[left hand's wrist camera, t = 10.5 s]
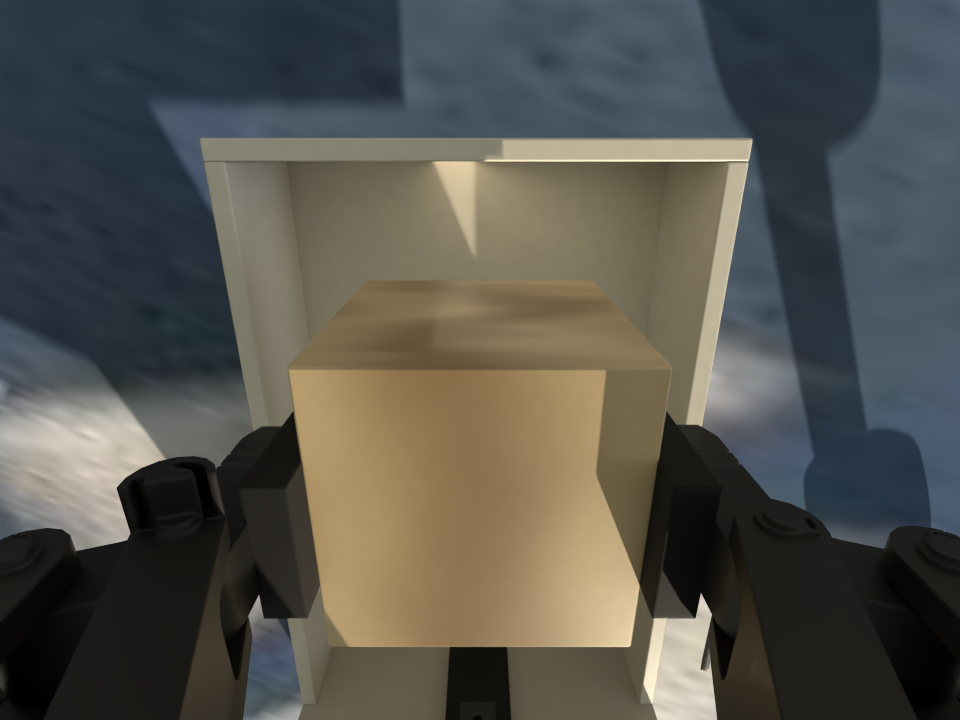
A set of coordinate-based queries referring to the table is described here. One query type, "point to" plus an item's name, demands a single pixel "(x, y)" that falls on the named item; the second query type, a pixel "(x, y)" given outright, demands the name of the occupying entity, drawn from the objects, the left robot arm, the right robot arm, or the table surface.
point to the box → (475, 257)
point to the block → (479, 463)
